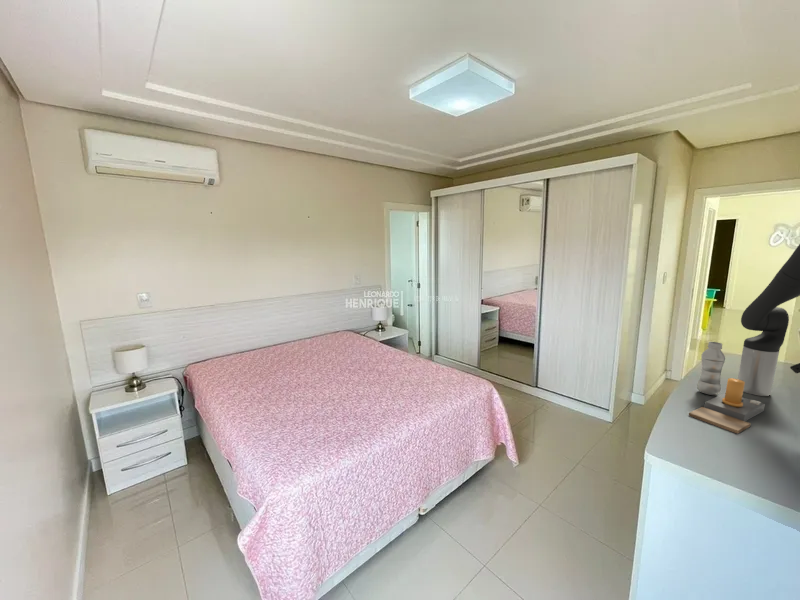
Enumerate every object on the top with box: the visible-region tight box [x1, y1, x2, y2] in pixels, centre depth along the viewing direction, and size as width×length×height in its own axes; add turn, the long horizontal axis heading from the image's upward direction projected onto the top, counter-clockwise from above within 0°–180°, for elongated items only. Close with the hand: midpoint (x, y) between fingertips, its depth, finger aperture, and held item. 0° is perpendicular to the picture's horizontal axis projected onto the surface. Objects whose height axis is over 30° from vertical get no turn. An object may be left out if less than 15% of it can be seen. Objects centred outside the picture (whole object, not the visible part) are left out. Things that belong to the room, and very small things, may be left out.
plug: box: [722, 377, 745, 408], centre depth 111 cm, size 5×5×11 cm
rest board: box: [688, 406, 751, 434], centre depth 106 cm, size 9×12×1 cm
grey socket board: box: [703, 392, 766, 422], centre depth 113 cm, size 16×10×3 cm, turn 117°
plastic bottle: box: [696, 341, 726, 396], centre depth 124 cm, size 6×7×20 cm
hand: (798, 367), depth 98 cm, fingers open, 8 cm apart
